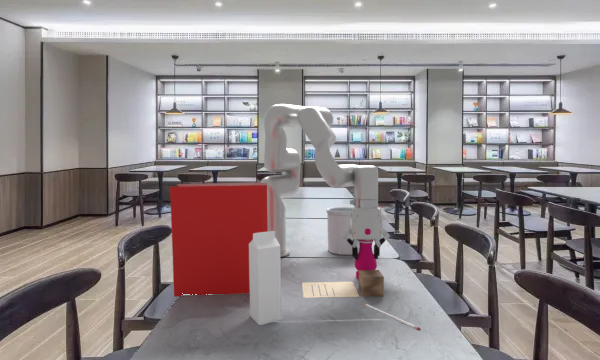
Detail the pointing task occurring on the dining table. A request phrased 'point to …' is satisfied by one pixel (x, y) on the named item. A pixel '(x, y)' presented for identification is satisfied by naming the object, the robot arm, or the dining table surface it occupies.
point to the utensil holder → (339, 230)
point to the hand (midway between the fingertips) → (365, 257)
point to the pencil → (396, 318)
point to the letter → (329, 289)
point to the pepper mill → (365, 256)
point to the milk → (265, 278)
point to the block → (371, 283)
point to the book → (215, 235)
